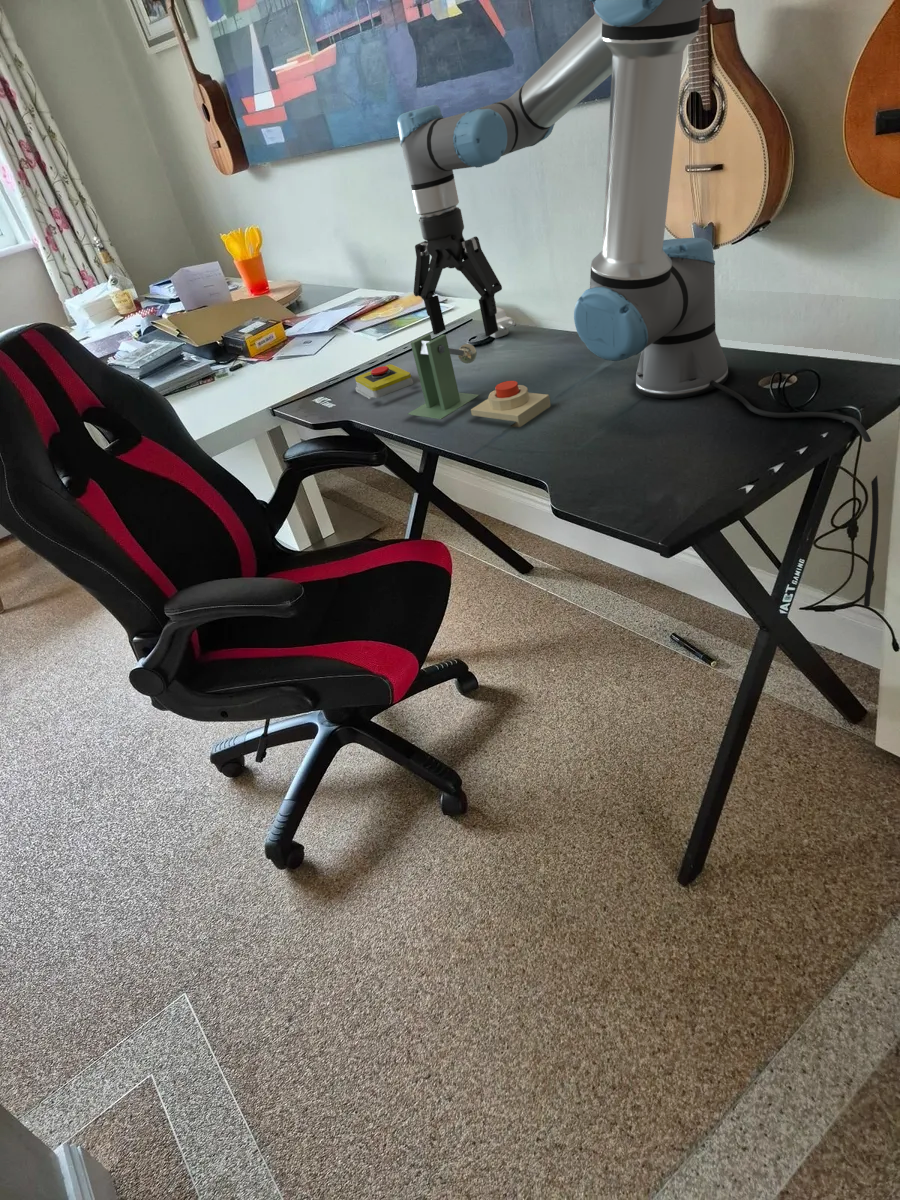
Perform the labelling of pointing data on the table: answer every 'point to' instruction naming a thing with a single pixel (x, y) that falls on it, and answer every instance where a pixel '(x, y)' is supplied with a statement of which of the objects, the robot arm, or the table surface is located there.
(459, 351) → the lever switch
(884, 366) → the table surface
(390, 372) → the emergency button
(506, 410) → the button console
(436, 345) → the switch bracket
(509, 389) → the button
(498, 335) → the power adapter
